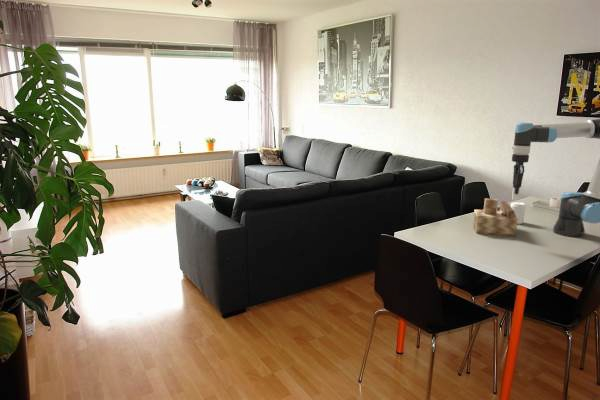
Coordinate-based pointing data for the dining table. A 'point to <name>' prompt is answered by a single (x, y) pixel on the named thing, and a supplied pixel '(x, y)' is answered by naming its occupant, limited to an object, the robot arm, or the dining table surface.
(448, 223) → the dining table surface
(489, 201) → the lid
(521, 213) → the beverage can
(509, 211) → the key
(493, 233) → the wicker basket
